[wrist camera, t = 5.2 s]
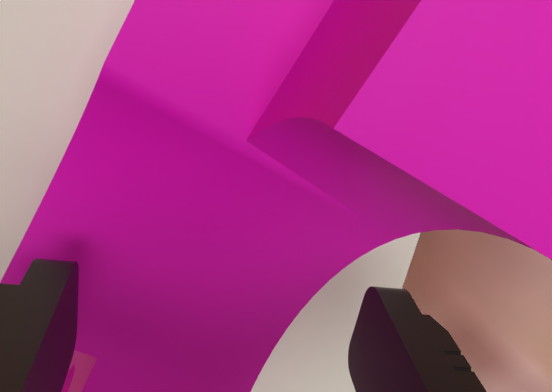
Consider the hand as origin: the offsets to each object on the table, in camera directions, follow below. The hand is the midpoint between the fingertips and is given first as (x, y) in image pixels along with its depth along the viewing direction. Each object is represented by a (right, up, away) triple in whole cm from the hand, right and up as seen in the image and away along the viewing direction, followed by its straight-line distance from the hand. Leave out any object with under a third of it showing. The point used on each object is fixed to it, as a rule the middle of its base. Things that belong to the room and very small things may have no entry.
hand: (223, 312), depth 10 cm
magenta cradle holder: (-1, +2, +4) cm, 5 cm away
